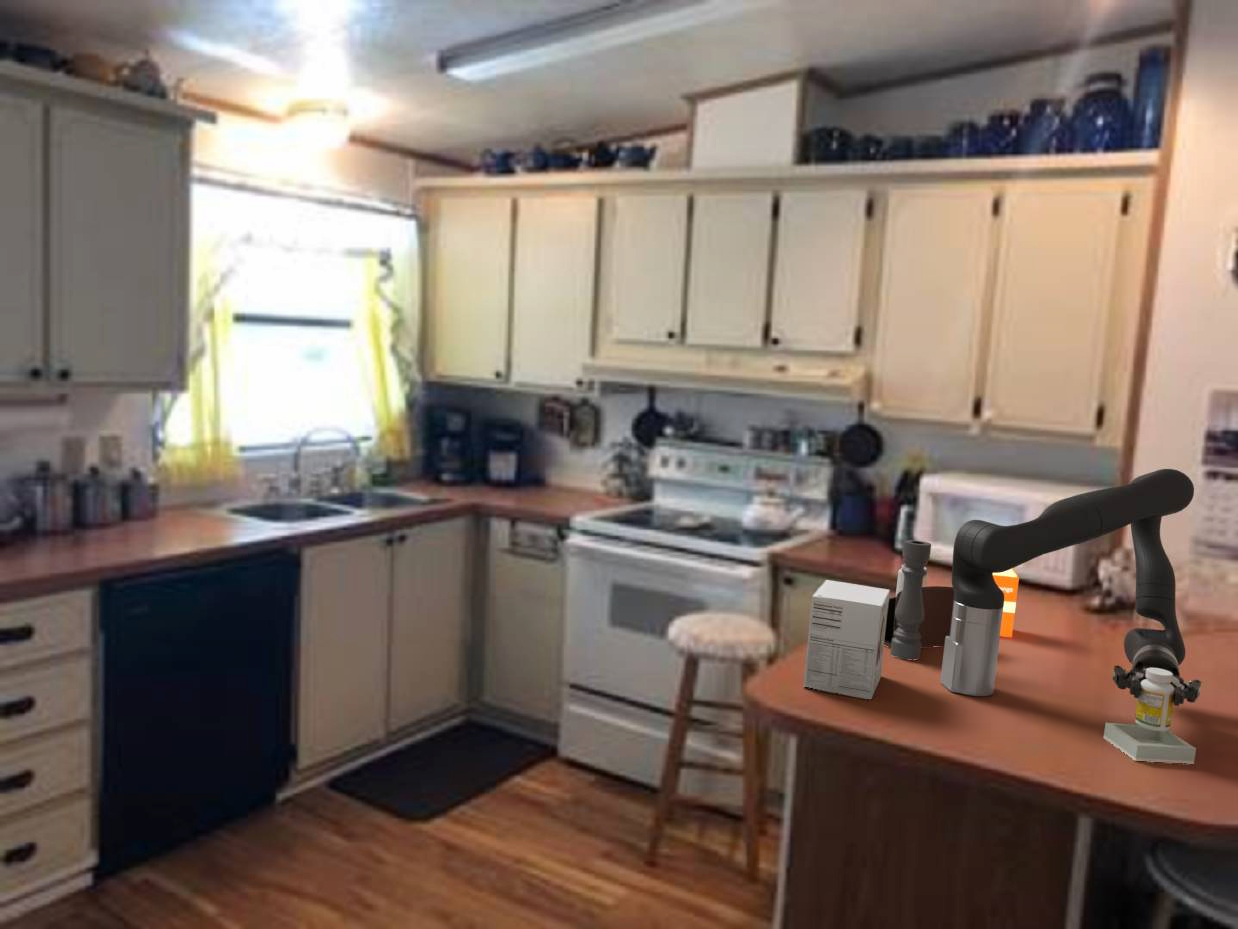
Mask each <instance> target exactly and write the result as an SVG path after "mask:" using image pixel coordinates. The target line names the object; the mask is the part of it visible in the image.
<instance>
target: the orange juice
mask: <svg viewBox="0 0 1238 929" xmlns="http://www.w3.org/2000/svg"><path fill="white" fill-rule="evenodd" d="M993 577H994V580H995V582H996V584H997V585H998V587H999V588H1000V589H1001V590H1002V591H1003V593H1004V607H1003V615H1002V622H1001V631H1000V637H1005V638H1013V630H1014V622H1015V613H1016V606H1017V598H1018V589H1019V581H1020V580H1019V579H1020V577H1018V575H1017V573H1016V571H1015V569H1014V568H1012V569H1010V570H1007V571H1004V572H1001V573H993Z"/></svg>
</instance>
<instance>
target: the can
mask: <svg viewBox="0 0 1238 929" xmlns="http://www.w3.org/2000/svg"><path fill="white" fill-rule="evenodd" d="M905 566H906V565H905V563H904V564H901V568H899V569H898V571H897V581H896V582H897V583H896V591H895V597H896V596H897V594H898V593H899V592H900V591H902V590H903V584H904V573H903V572H902V568H904V567H905ZM924 569H925V570H926V572H927V567H926V566H925V567H924ZM929 575H930V574H929V573H928V572H927V575H925V576H924V578H923V583H922V587H929V586H928V584H929Z"/></svg>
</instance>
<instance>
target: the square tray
mask: <svg viewBox="0 0 1238 929" xmlns="http://www.w3.org/2000/svg"><path fill="white" fill-rule="evenodd" d="M1103 739H1104V740H1106V742H1108V743H1109V742H1110V743H1109V744H1111V745H1112V744H1113V745H1112V746H1113V747H1115V748H1116V749H1118V748H1119V749H1120V750H1121V751H1120V750H1119V749H1118V750H1119V751H1120V752H1122V753H1123V752H1124V753H1125V755H1126V754H1127V755H1128V756H1129V757H1128V756H1127V755H1126V756H1127V757H1128V758H1130V757H1131V758H1132V759H1131V758H1130V759H1131V760H1132V761H1134V760H1135V761H1147V762H1146V763H1154V762H1167V763H1166V764H1172V763H1183V764H1182V765H1185V764H1184V763H1187V764H1186V765H1190V764H1195V759H1196V753H1197V752H1196V750H1197V748H1196V747H1194V746H1193V745H1192V744H1189V743H1188V742H1187V741H1185V740H1184V739H1182V738H1181V737H1179V736H1178V735H1176V734H1174V733H1173V732H1171V731H1169V729H1168V730H1166V731H1154V730H1150V729H1146V728H1143V727H1141V726H1139V725H1138V724H1137V723H1136V724H1134V723H1119V722H1118V723H1116V722H1105V725H1104V731H1103ZM1124 753H1123V754H1124ZM1135 761H1134V762H1135ZM1149 761H1150V762H1149ZM1168 762H1169V763H1168ZM1188 763H1189V764H1188Z"/></svg>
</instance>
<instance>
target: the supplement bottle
mask: <svg viewBox="0 0 1238 929" xmlns="http://www.w3.org/2000/svg"><path fill="white" fill-rule="evenodd" d="M1145 676H1146V678H1147V679H1145V680H1143V681H1141V683H1140V691H1139V698H1137V703H1136V709H1135V710H1136V711H1135V718H1134V721H1135V723H1136V724H1137V725H1139V726H1141V727H1143V728H1146V729H1150V730H1154V731H1166V730H1168V731H1169V729H1170V728H1171V722H1172V716H1173V708H1174V695H1175V689H1174V687H1173V686H1172V685H1171V684H1170V683H1171V682H1172V678H1173V674H1172V673H1171V672H1170V671H1167V670H1164V669H1160V668H1147V669H1146V674H1145Z"/></svg>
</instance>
